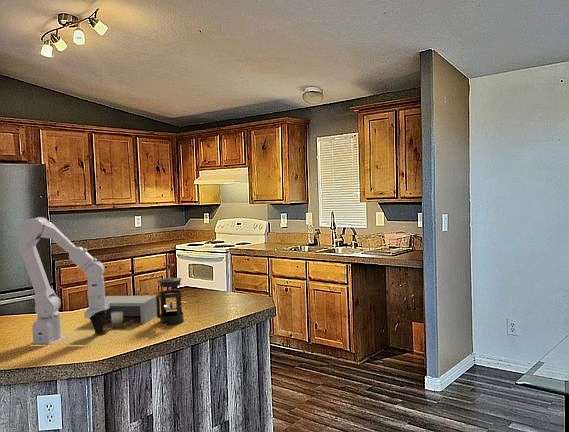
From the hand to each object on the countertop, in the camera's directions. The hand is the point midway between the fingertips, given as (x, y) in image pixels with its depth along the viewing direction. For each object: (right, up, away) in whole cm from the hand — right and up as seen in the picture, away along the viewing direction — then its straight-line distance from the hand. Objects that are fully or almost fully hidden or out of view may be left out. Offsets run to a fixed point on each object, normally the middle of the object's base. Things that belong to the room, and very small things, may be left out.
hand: (98, 332), depth 188 cm
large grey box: (+3, 0, +21) cm, 22 cm away
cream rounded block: (+2, 0, +14) cm, 14 cm away
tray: (+1, -1, +9) cm, 9 cm away
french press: (+23, 0, +16) cm, 28 cm away
